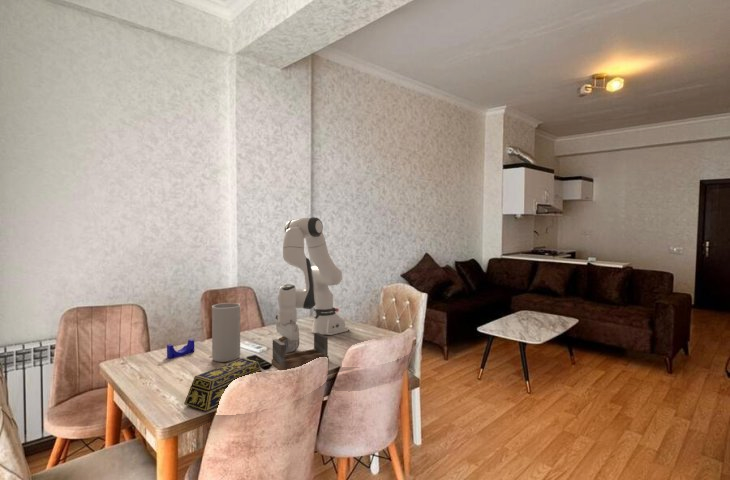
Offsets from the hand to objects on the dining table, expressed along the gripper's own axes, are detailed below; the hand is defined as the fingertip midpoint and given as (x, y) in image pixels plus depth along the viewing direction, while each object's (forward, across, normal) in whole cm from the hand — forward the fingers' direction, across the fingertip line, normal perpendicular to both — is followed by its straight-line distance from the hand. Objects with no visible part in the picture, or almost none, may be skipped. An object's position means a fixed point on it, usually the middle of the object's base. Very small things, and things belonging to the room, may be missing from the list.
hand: (287, 345), depth 192 cm
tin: (+4, 0, 0) cm, 4 cm away
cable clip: (+4, +27, +44) cm, 52 cm away
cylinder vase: (+4, +9, +27) cm, 29 cm away
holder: (+4, -15, 0) cm, 15 cm away
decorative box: (+4, -29, +36) cm, 47 cm away
